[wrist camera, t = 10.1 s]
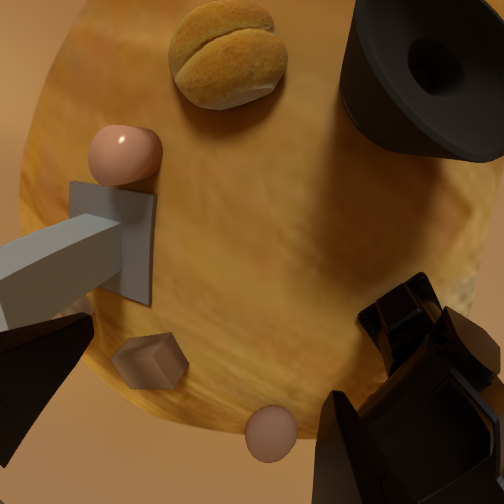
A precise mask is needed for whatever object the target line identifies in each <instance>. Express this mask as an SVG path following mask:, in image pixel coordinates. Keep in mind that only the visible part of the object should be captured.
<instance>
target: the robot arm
mask: <svg viewBox="0 0 504 504" xmlns="http://www.w3.org/2000/svg"><path fill="white" fill-rule="evenodd" d="M421 277H423V279H422V280H421V281H419V279H420V278H421ZM363 316H367V317H366V318H362V317H363ZM358 319H359V321H360V323H361V324H362V326H363V327H364V329H365V330H366V332H367V333H368V335H369V336H370V337H371V339H372V340H373V342H374V343H375V345H376V346H377V348H378V349H379V351H380V352H381V354H382V357H383V361H384V365H385V368H386V372H387V376H388V380H387V381H386V382H385V383H384V384H383V385H382V386H381V387H380V388H379V389H378V390H377V391H376V392H375V393H374V394H371V395H370V396H369V397H368V398H367V399H366V402H365V403H364V404H363V405H361V406H360V407H359V409H358V410H357V412H356V410H355V409H354V407H353V406H352V404H351V402H350V401H349V399H348V398H347V396H346V395H345V393H344V392H342V391H337V390H332V391H331V392H330V393H329V395H328V397H327V399H326V400H325V402H324V404H323V406H322V410H321V416H320V423H319V429H318V435H317V441H316V447H315V463H314V478H313V479H314V480H313V492H312V504H504V384H503V383H502V382H501V380H500V379H499V378H498V376H497V375H498V374H499V373H500V347H499V346H498V345H497V343H496V342H495V341H494V340H493V339H492V338H491V337H490V336H489V334H488V333H487V332H486V331H485V330H484V329H483V328H481V327H480V326H478V325H477V324H475V323H473V322H472V321H470V320H469V319H467V318H465V317H464V316H462V315H461V314H459V313H457V312H456V311H454V310H452V309H451V308H449V307H448V306H445V308H444V309H443V310H442V308H441V305H440V303H439V301H438V299H437V296H436V294H435V292H434V290H433V288H432V286H431V283H430V281H429V279H428V277H427V276H426V274H425V273H423V272H419V273H417V274H416V275H415V276H413V277H412V278H411V279H409V280H408V281H406V282H405V283H401V284H400V285H398V286H397V287H396V288H394V289H393V290H391V291H390V292H388V293H387V294H385V295H384V296H382V297H381V298H379V299H378V300H377V301H376V302H375V303H374V304H372V305H370V306H369V307H367V308H366V309H364V310H362V311H361V312H360V313H359V314H358ZM93 337H94V326H93V320H92V317H91V316H90V315H89V314H87V313H85V312H80V313H76V314H72V315H68V316H64V317H60V318H56V319H52V320H48V321H44V322H40V323H35V324H31V325H27V326H23V327H19V328H15V329H10V330H6V331H2V332H0V465H1V466H2V467H3V468H5V467H6V466H7V464H8V463H9V461H10V459H11V458H12V456H13V454H14V453H15V451H16V449H17V448H18V446H19V445H20V443H21V442H22V440H23V439H24V437H25V436H26V435H25V434H27V432H28V431H29V429H30V428H31V426H32V425H33V423H34V422H35V421H36V419H37V418H38V416H39V415H40V413H41V412H42V410H43V409H44V408H45V406H46V405H47V403H48V402H49V401H50V399H51V398H52V396H53V395H54V394H55V392H56V391H57V390H58V388H59V387H60V386H61V384H62V383H63V382H64V380H65V379H66V378H67V376H68V375H69V374H70V372H71V371H72V370H73V368H74V367H75V366H76V364H77V362H78V361H79V360H80V358H81V356H82V355H83V353H84V351H85V350H86V348H87V347H88V345H89V344H90V342H91V340H92V339H93ZM0 504H4V503H3V502H2V501H1V500H0Z"/></svg>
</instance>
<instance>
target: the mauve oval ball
mask: <svg viewBox="0 0 504 504" xmlns="http://www.w3.org/2000/svg"><path fill="white" fill-rule="evenodd" d="M297 434H298V427H297V422H296V420H295V418H294V416H293V415H292V414H291V413H290V412H289V411H288V410H286V409H285V408H283V407H279V406H268V407H264V408H262V409H260V410H258V411H257V412H255V413H254V414H253V416H252V417H251V418H250V419H249V421H248V424H247V427H246V431H245V440H246V443H247V447H248V449H249V451H250V453H251V454H252V456H253V457H254V458H256V459H257V460H259V461H261V462H264V463H272V462H276V461H279V460H281V459H282V458H284V457H285V456H286V455H287V454H288V453H289V452H290V450H291V449H292V448H293V446H294V444H295V442H296V439H297Z"/></svg>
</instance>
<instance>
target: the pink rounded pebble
mask: <svg viewBox="0 0 504 504" xmlns="http://www.w3.org/2000/svg"><path fill="white" fill-rule="evenodd" d="M162 156H163V148H162V143H161V141H160V139H159V137H158V136H157V134H156V133H155V132H153V131H152V130H150V129H147V128H140V127H132V126H122V125H108V126H106V127H104V128H102V129H101V130H100V131H99V132H98V133H97V134H96V135H95V136H94V138H93V140H92V142H91V144H90V148H89V153H88V164H89V168H90V171H91V174H92V176H93V177H94V179H95V180H96V181H97V182H98V183H100V184H101V185H103V186H107V187H112V186H117V185H122V184H127V183H132V182H137V181H142V180H146V179H148V178H150V177H151V176H153V175H154V174H155V173H156V171H157V170H158V168H159V166H160V164H161V161H162Z"/></svg>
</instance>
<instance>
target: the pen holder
mask: <svg viewBox="0 0 504 504" xmlns="http://www.w3.org/2000/svg"><path fill="white" fill-rule="evenodd" d="M340 92H341V97H342V101H343V104H344V107H345V109H346V111H347V113H348V115H349V117H350V118H351V120H352V121H353V123H354V124H355V125H356V127H357V128H358V129H359V130H360V131H361V132H362V133H363V134H364V135H365V136H366V137H367V138H369V139H370V140H371V141H373V142H374V143H376V144H377V145H379V146H381V147H383V148H385V149H388V150H390V151H394V152H398V153H403V154H411V155H419V156H429V157H438V158H446V159H454V160H461V161H468V162H474V163H486V162H490V161H493V160H495V159H498V158H500V157H502V156H503V155H504V20H503V19H502V18H501V17H500V16H499V14H498V13H497V12H496V11H495V10H494V9H493V8H492V7H491V6H490V5H489V4H488V3H487V2H486V1H484V0H356V2H355V7H354V12H353V17H352V22H351V27H350V32H349V36H348V41H347V46H346V50H345V55H344V59H343V64H342V70H341V75H340Z"/></svg>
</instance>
